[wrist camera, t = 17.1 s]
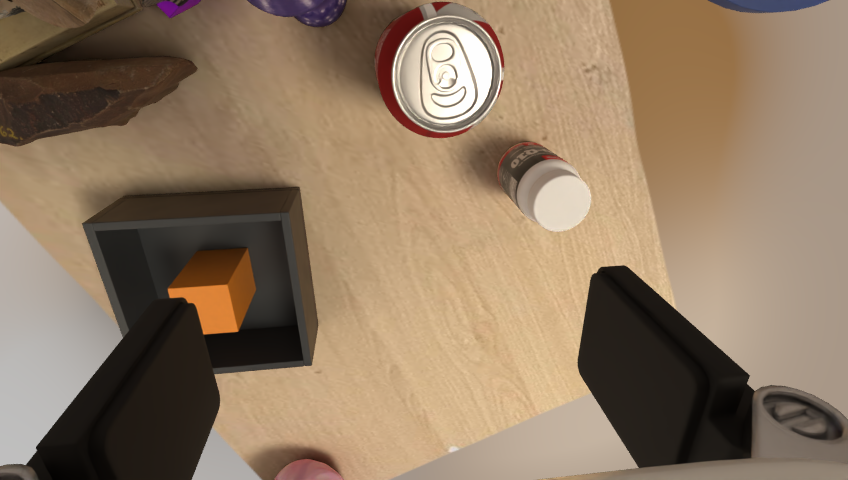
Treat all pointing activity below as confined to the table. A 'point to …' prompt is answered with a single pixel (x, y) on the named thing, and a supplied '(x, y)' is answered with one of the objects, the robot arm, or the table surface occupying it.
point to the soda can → (439, 69)
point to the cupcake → (308, 471)
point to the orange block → (217, 288)
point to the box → (53, 33)
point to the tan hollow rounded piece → (52, 11)
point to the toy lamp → (304, 10)
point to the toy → (172, 5)
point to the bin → (215, 230)
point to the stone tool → (82, 94)
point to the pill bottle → (544, 186)
